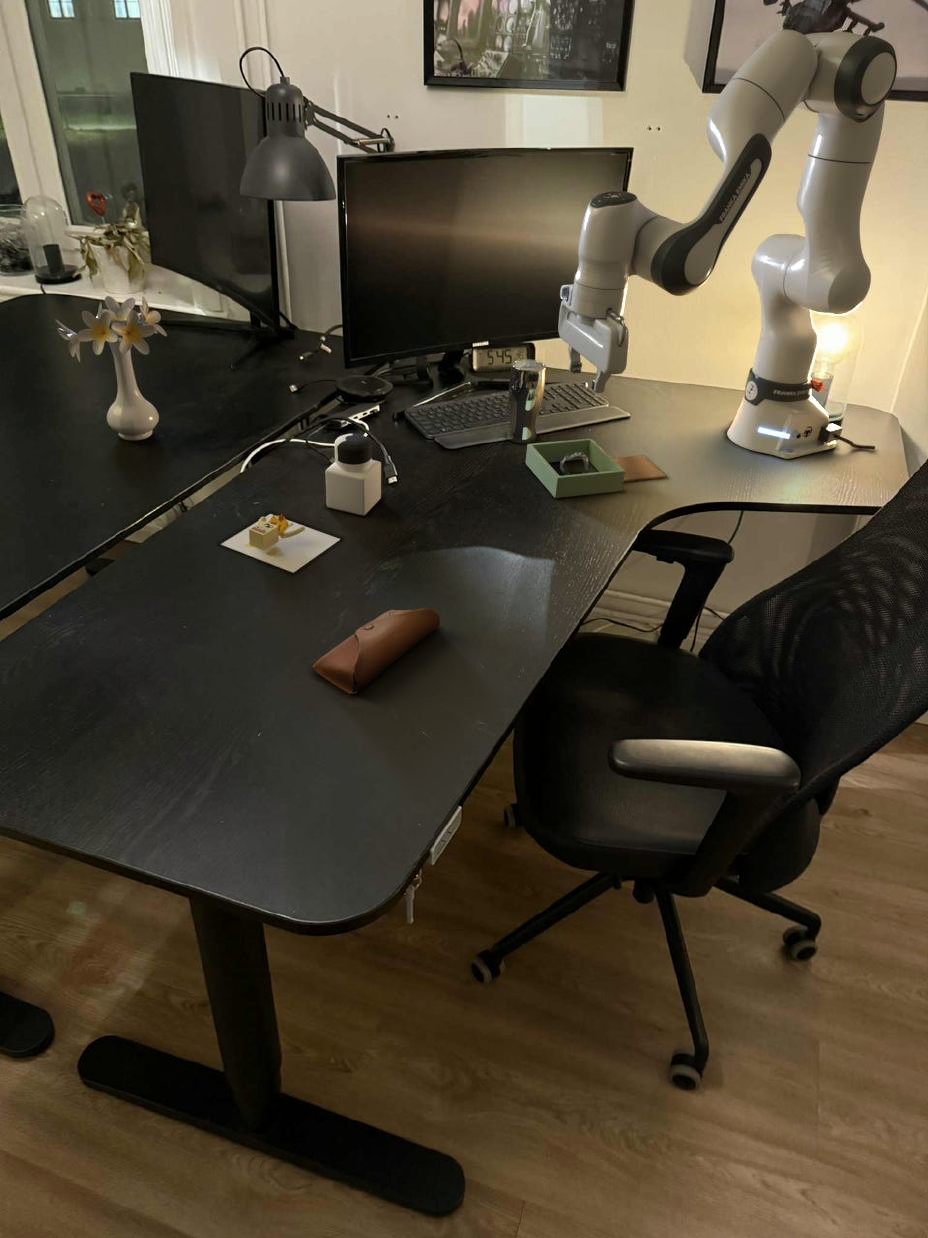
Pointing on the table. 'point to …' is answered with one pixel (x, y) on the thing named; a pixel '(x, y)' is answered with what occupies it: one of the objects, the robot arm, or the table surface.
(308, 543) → the miniature model
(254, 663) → the table surface
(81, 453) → the table surface
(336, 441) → the medicine bottle
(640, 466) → the cork pad
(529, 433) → the shiny metal tumbler
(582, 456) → the wristwatch
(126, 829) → the table surface
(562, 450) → the tray
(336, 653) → the sunglasses case
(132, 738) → the table surface
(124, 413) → the flower vase
